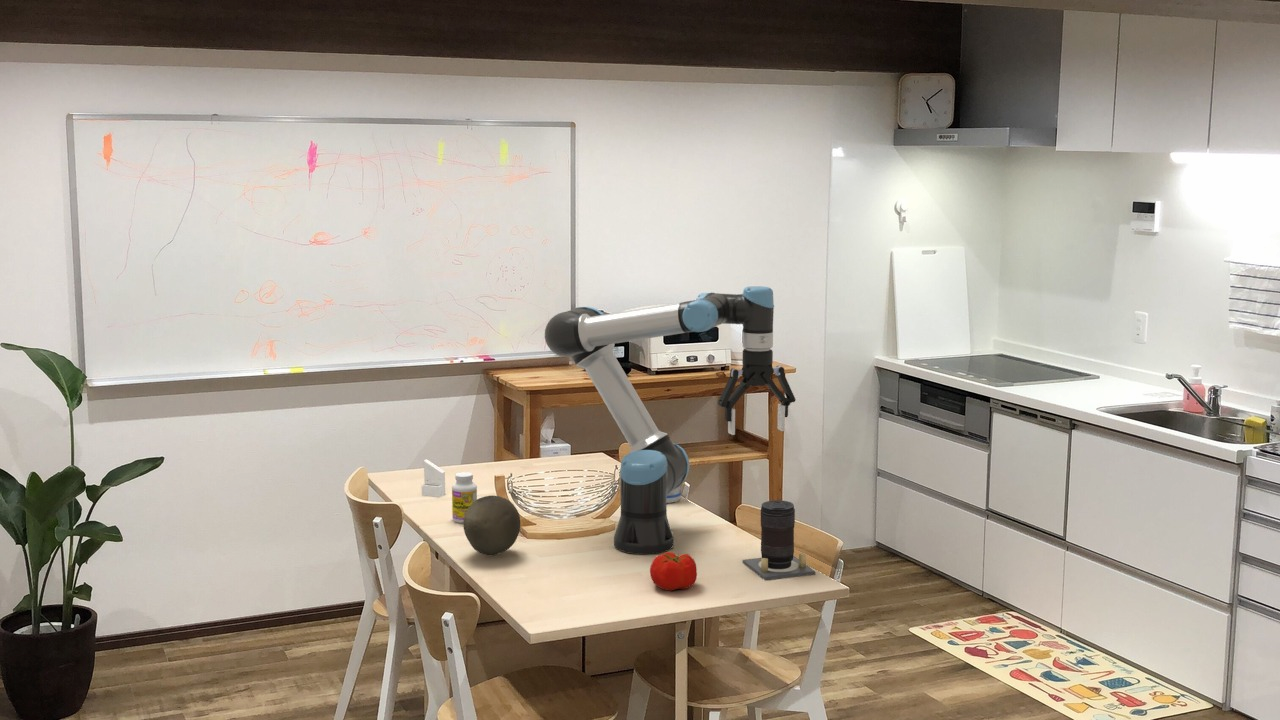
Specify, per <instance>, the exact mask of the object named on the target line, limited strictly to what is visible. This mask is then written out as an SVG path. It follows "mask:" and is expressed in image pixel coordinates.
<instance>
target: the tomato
mask: <svg viewBox="0 0 1280 720" xmlns="http://www.w3.org/2000/svg"><path fill="white" fill-rule="evenodd" d="M649 574H650V578H651V581H652V583H653V584H654V585H655V586H657V587H659V588H661V589H663V590H666V591H675V590H678V589H679V590H685V589H686V590H687V589H689V588H690V587H692V586H693V585H694V584H695V583H696V580H697V576H698V572H697V563H696V562H695V559H694V558H693V557H692V556H691V555H689V554H688V553H683V554H681V555H677V554H676V553H675V552H672V551H664V552H661V554H659V555H657V556H656V557H654V559H653V561H652V563H651V565H650V567H649Z"/></svg>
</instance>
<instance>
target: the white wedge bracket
mask: <svg viewBox="0 0 1280 720" xmlns="http://www.w3.org/2000/svg"><path fill="white" fill-rule="evenodd" d="M423 476H424V477H423V479H424V480H423V481H424V482H423V484H421V496H422V497H432V498H433V497H434V498H441V497H443V496H445V495H446V471H445V470H443V469H441V468H440V467H439V466H437V465H436V464H434V463H433V462H432V461H430V460H428V459H424V460H423Z"/></svg>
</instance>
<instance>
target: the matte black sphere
mask: <svg viewBox="0 0 1280 720" xmlns="http://www.w3.org/2000/svg"><path fill="white" fill-rule="evenodd" d="M462 524H463V526H462V527H463V531H464V535H465V537H466V540H467V541H468V542H469V544H470V546H471V547H472V549H474V550H475V551H476V552H477V553H479V554H481V555H484V556H489V557H490V556H491V557H492V556H498V555H500V554H503V553H505V552H506V551H508V550H509V549H510V548H512V547H513V545H514V544H515V543H516V541H517V539H518V536H519V534H520V529H521V516H520V512H519V510H518V509H517V507H516V506H515V505H514V504H513V502H511V501H510V500H509V499H507V498H505V497H502V496H499V495H486V496H481V497H479V498H477V500H476V501H474V502H473V503H472V504H471V505H470V507H469V508H468V510H467V512H466V514H465V516H464V522H463V523H462Z"/></svg>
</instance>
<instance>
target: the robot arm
mask: <svg viewBox="0 0 1280 720" xmlns="http://www.w3.org/2000/svg"><path fill="white" fill-rule="evenodd" d="M774 309H775V304H774V290H773V289H772V288H771V287H768V286H761V285H760V286H746V287H744V288H743V292H742V294H741V293H740V294H736V293H734V294H733V293H718V292H717V293H715V292H703V293H700V294H698V295H697V297H696V299H694V300H687V301H683V302H682V301H681V302H677V303H671V304H669V303H668V304H664V305H663V304H662V305H656V306H651V307H645V308H639V309H632V310H631V309H630V310H625V311H618V312H613V313H606V314H604V313H603V312H602V311H601V310H599V309H597V308H595V307H591V306H579V307H576V308H573V309H570V310H566V311H562V312H560V313H557V314H555V315H554V316H553V317H551V318H550V319H549V320H548V322H547V324H546V326H545V329H544V340H545V342H546V345H547V347H548V348H549V350H550V351H552V352H553V354H555V355H556V356H559V357H563V358H564V357H565V358H571V360H572V361H573V362H574V364H575V365H576V367H578V368H581V369H584V370H585V372H586V373H587V375H588V377H589V378H590V380H591V382H592V384H593V385H594V387H595V389H596V390H597V392H598V394H599V396H600V398H601V399H602V400H603V402H604V404H605V405H606V407H607V409H608V411H609V413H610V414H611V416H612V418H613V419H614V421H615V422H616V425H617V427H618V428H619V430H620V432H621V433H622V435H623V436H624V438H625V440H626V441H627V443H628V445H629V447H630V448H629V449H630V450H629V453H627V454H625V455H624V456H623V457H622V459H621V460H620V468H619V476H620V479H619V481H620V484H619V485H620V488H619V489H620V517H619V520H618V523H617V526H616V529H615V532H614V535H613V547H614V548H615V549H616V550H618V551H620V552H624V553H629V554H634V555H635V554H636V555H652V554H653V555H654V554H659V553H665V552H668V551H669V550H671V549H672V548H673V547H674V534H673V532H672V528H671V526H670V522H669V519H668V515H667V511H668V510H667V509H668V508H667V507H668V506H667V504H668V503H667V494H668V493H669V492H671V491H672V490H674V489H676V488H677V487H679V486H680V485H681V486H682V484H683V483H684V481H685V480H686V479H687V477H688V475H689V473H690V459H689V456H688V453H687V452H686V451H685V449H684V448H683V447H681V445H679V444H677V443H674V442H673V440H672V439H671V438H670V436H669V434H668V433H667V432H663V431H661V430H660V429H659V428H658V427H657V425H656V423H655V421H654V420H653V418H652V415H650V413H649V411H648V410H647V408H646V406H645V405H644V403H643V401H642V399H641V398H640V396H639V395H638V392H637V391H636V389H635V387H634V386H633V384H632V383H631V381H630V379H629V377H628V376H627V374H626V372H625V371H624V369H623V368H622V365H621V364H620V362H619V361H618V359H617V357H616V355H615V353H614V348H615V346H616V345H615V344H620V343H621V344H622V343H627V342H633V341H634V342H635V341H639V340H645V339H647V340H648V339H652V338H660V337H666V336H673V335H679V334H684V333H685V334H686V333H701V332H702V333H703V332H707V331H709V330H711V329H713V328H715V327H718V326H720V325H723V324H725V325H727V324H728V325H742V348H744V349H743V350H742V359H741V360H742V368H741V369H736V368H733V367H732V368H731V369H730V372H729V378H728V379H727V382H726V385H725V386H724V388H723V390H722V393H721V395H720V397H719V399H718V401H717V405H718V406H720V407H722V408H723V409H724V420H725V421H726V422H727V433H728V434H729V435H731V436H734V435H736V408H733V407H734V406H735V405H736V403H738V401H739V400H740V399H741V397H742V395H744V394H745V392H746V390H747V389H749V388H750V387H758V386H760V387H763V386H765V385H766V386H767V387H768V388H769V390H770V391H771V392H772V393H773V394H774V396H775V397H776V398H777V400H778V401H779V402H780V403H777V430H778V431H781V432H785V430H786V429H785V428H786V427H785V425H786V418H788V416H789V406H791V404H792V403H795V402H796V397H795V395H794V392H793V391H792V389H791V386H790V384H789V381H788V379H787V378H786V373H785V368H784V367H783V366H781V365H776V366H775V367H773V364H774V363H773V361H774V360H773V359H774V358H773V356H774V355H773V354H774V353H773V352H774V351H773V349H772V348H773V346H774ZM773 375H775V376H776V378H777V380H778V382H779V383H780V387H781V389H782V390H783V392H784V393H783V392H782V391H781V390H780V389H779V387H778V386H777V385H776V384H775V382H774V380H773V379H772V376H773ZM741 376H742V379H741V380H740V382H739V385H738V386H737V387H736V388H735V386H736V384H737V382H738V379H740V377H741ZM734 388H735V389H734Z"/></svg>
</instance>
